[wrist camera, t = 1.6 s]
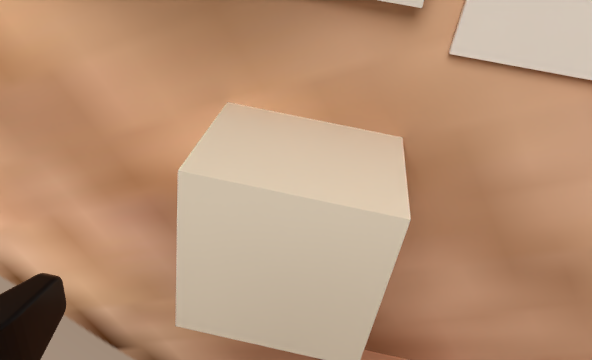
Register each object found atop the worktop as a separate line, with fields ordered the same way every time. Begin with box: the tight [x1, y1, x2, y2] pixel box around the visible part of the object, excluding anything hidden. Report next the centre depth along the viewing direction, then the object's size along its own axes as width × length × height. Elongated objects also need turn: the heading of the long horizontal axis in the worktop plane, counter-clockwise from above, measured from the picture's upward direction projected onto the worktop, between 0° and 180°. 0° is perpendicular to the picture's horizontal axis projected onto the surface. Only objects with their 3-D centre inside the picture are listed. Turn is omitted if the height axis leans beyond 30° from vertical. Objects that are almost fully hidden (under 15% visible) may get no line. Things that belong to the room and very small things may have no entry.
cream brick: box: [176, 102, 411, 360], centre depth 13 cm, size 5×5×4 cm
